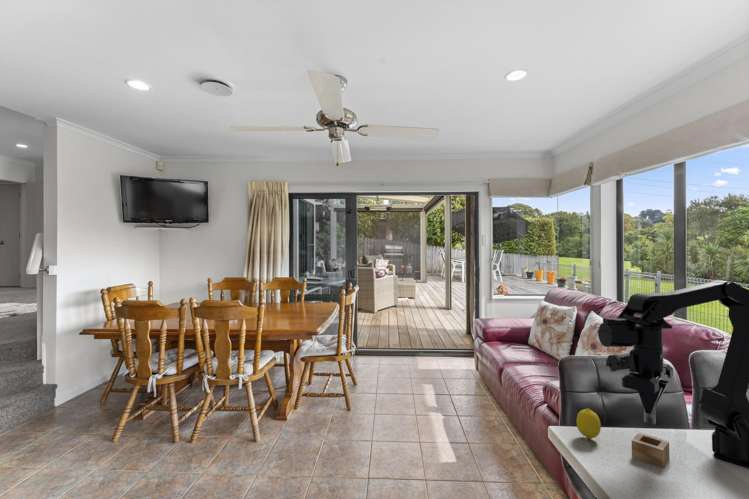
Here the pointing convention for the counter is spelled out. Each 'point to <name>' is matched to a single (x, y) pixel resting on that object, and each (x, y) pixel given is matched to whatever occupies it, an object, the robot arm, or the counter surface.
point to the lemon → (588, 423)
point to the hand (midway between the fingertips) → (649, 411)
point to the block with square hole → (650, 449)
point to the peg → (650, 417)
